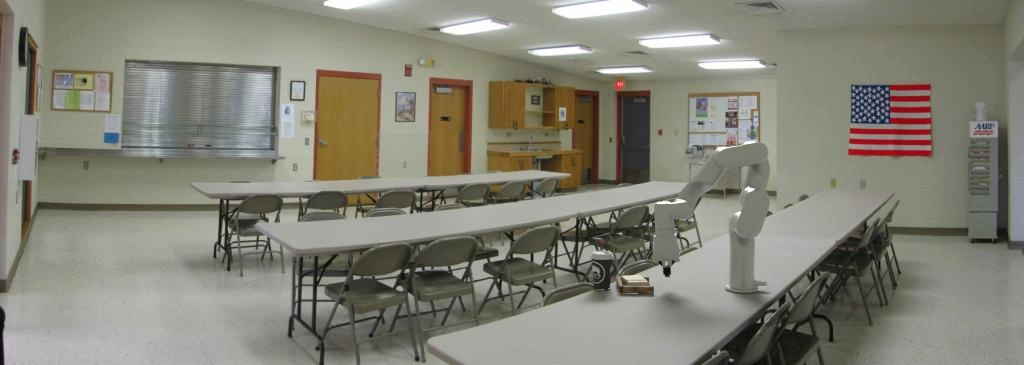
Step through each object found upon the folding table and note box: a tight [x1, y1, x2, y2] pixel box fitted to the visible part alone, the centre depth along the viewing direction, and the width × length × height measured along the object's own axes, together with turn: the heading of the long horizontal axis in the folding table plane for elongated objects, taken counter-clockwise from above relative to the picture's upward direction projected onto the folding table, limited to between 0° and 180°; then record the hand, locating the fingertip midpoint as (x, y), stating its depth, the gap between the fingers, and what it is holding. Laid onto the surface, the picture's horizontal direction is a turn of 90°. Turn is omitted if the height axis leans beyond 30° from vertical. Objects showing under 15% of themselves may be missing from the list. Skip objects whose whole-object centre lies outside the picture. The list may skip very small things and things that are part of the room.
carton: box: [620, 274, 649, 286], centre depth 270 cm, size 8×12×5 cm
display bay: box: [615, 275, 655, 295], centre depth 269 cm, size 14×18×3 cm
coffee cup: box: [589, 250, 614, 291], centre depth 270 cm, size 10×10×15 cm
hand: (667, 276), depth 268 cm, fingers closed
